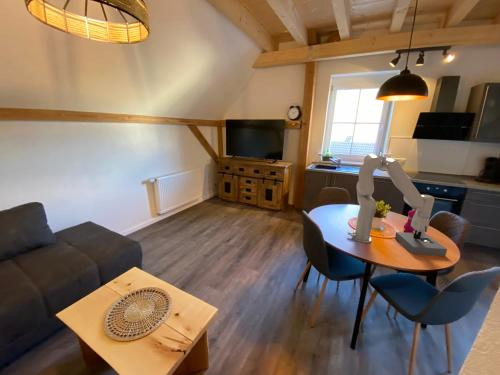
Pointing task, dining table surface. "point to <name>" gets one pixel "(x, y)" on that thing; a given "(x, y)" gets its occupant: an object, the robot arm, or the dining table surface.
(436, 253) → the board
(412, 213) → the pepper mill
